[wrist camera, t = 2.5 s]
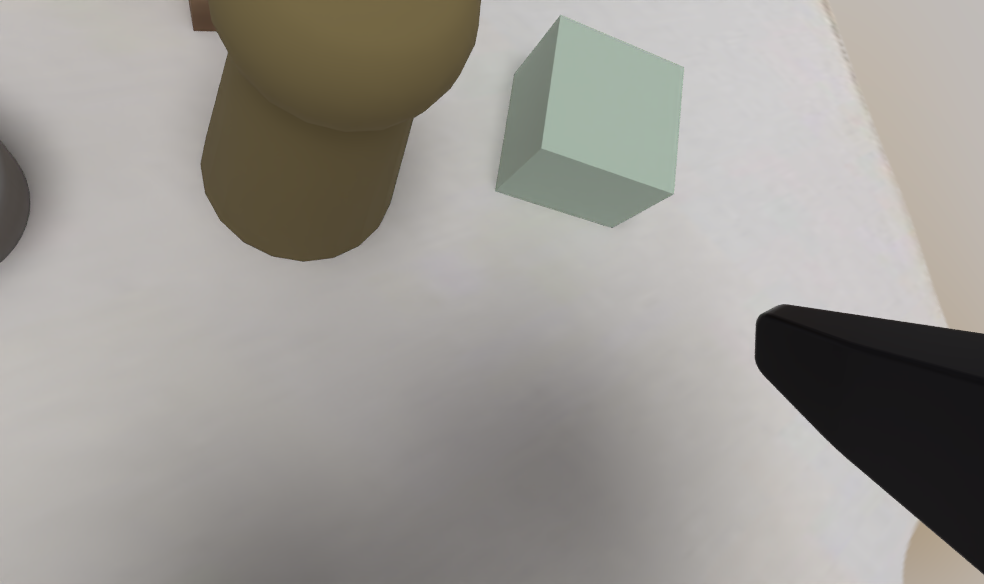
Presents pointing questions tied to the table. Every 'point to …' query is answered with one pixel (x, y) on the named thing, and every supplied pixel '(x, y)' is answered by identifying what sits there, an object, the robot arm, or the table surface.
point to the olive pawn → (323, 113)
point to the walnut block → (201, 15)
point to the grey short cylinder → (12, 202)
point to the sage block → (591, 126)
